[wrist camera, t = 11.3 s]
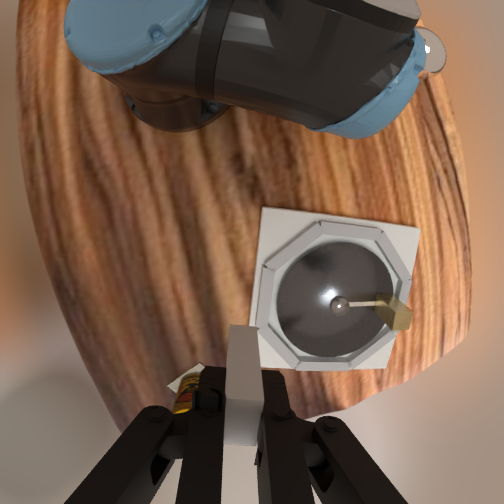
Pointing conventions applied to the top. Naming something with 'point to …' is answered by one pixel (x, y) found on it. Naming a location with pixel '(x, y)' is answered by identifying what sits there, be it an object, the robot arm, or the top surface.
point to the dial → (338, 300)
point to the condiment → (185, 389)
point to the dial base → (299, 242)
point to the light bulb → (432, 54)
